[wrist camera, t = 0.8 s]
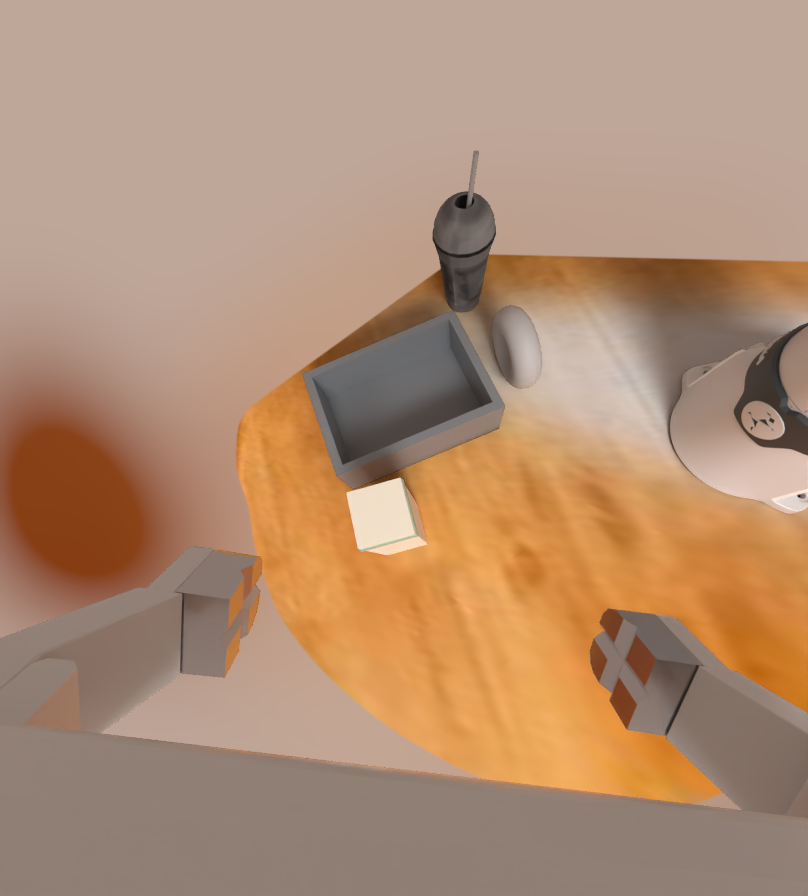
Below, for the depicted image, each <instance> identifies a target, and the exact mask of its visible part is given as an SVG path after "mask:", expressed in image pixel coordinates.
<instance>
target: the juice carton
mask: <svg viewBox="0 0 808 896" xmlns="http://www.w3.org/2000/svg"><path fill="white" fill-rule="evenodd" d="M347 498H348V503H349V508H350V513H351V517H352V522H353V527H354V532H355V537H356V542H357V546H358V549H359V550H360V551H370V552H375V553H379V554H384V555H390V554H394V553H397V552H401V551H404V550H408V549H412V548H415V547H419V546H423V545H426V544H428V543H427V540H426V536H425V532H424V528H423V525H422V521H421V517H420V513H419V510H418V506H417V503H416V501H415V500H414V498H413V497H412V495H411V494H410V492H409V490H408V489H407V487H406V486H405V482H404V480H403V478H402V479H401V478H397V479H393V480H390V481H386V482H383V483H379V484H376V485H372V486H368V487H365V488H361V489H358V490H354V491H351V492H347Z"/></svg>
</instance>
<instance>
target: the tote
mask: <svg viewBox="0 0 808 896" xmlns="http://www.w3.org/2000/svg"><path fill="white" fill-rule="evenodd" d="M302 375H303V378H304V381H305V384H306V387H307V390H308V393H309V396H310V398H311V401H312V404H313V407H314V410H315V413H316V416H317V419H318V422H319V425H320V428H321V431H322V434H323V437H324V440H325V443H326V446H327V449H328V452H329V455H330V458H331V461H332V464H333V467H334V469H335V472H336V475H337V477H338V478H340V479H341V480H342V481H343V482H345V483H346V484H347V485H349V486H350V487H351V488H353V489H355V488H358V487H360V486H362V485H365V484H367V483H370V482H372V481H374V480H377V479H379V478H382V477H384V476H386V475H389V474H391V473H394V472H396V471H398V470H401V469H403V468H406V467H408V466H410V465H413V464H415V463H418V462H420V461H422V460H425V459H427V458H430V457H432V456H434V455H437V454H439V453H441V452H444V451H446V450H449V449H451V448H453V447H456V446H458V445H461V444H463V443H465V442H468V441H470V440H473V439H475V438H477V437H480V436H482V435H485V434H487V433H489V432H492V431H494V430H497V429H499V426H500V423H501V419H502V416H503V412H504V409H505V405H504V403H503V401H502V399H501V397H500V395H499V394H498V392H497V390H496V388H495V386H494V384H493V382H492V381H491V379H490V377H489V375H488V373H487V371H486V369H485V368H484V366H483V364H482V362H481V360H480V358H479V356H478V355H477V353H476V351H475V349H474V347H473V345H472V343H471V342H470V340H469V338H468V336H467V334H466V332H465V330H464V329H463V327H462V325H461V323H460V321H459V319H458V317H457V316H456V314H455V312H454V310H452V311H450V312H447V313H445V314H443V315H440V316H438V317H435V318H433V319H431V320H428V321H426V322H424V323H421V324H419V325H416V326H414V327H412V328H409V329H407V330H405V331H402V332H400V333H397V334H395V335H393V336H390V337H388V338H386V339H383V340H381V341H378V342H376V343H374V344H371V345H369V346H367V347H364V348H362V349H360V350H357V351H355V352H352V353H350V354H348V355H345V356H343V357H341V358H338V359H336V360H333V361H331V362H329V363H326V364H324V365H322V366H319V367H317V368H314V369H312V370H310V371H307V372H305V373H303V374H302Z"/></svg>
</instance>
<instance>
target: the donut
mask: <svg viewBox="0 0 808 896" xmlns="http://www.w3.org/2000/svg"><path fill="white" fill-rule="evenodd" d="M492 339H493V345H494V350H495V354H496V358H497V361H498V364H499V366H500V369H501V371H502V373H503V375H504V377H505V378H506V380H507V381H508V382H509V383H510V384H511V385H512V386H514V387H516V388H520V389H521V388H529V387H531V386H533V385H534V384H535V383H536V381H537V380H538V378H539V376H540V373H541V368H542V353H541V347H540V342H539V338H538V334H537V332H536V329H535V327H534V324H533V323H532V321H531V319H530V317H529V316H528V315H527V313H526V312H525V311H524V310H523V309H521V308H519V307H516V306H511V305H510V306H505V307H503V308H502V309H501V310H500V311H498V312H497V313H496V315H495V317H494V319H493V324H492Z"/></svg>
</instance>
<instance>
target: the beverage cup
mask: <svg viewBox="0 0 808 896" xmlns="http://www.w3.org/2000/svg"><path fill="white" fill-rule="evenodd" d="M478 155H479V151H474V154H473V161H472V168H471V176H470V183H469V191H468V192H460V193H457V194H455V195H453V196H451V197H450V198H448V199H447V200H446V201H445V202H444V204H443V205H442V206H441V207H440V209H439V211H438V213H437V216H436V218H435V222H434V229H433V241H434V244H435V246H436V250H437V252H438V255H439V260H440V265H441V271H442V277H443V282H444V288H445V294H446V297H447V302H448V305H449V307H450V308H451V309H452V310H454V311H456V312H468V311H470V310H472V309H474V308H475V307H476V305H477V304H478V301H479V297H480V294H481V289H482V284H483V279H484V274H485V269H486V264H487V260H488V255H489V251H490V249H491V246H492V243H493V240H494V238H495V235H496V226H495V219H494V215H493V212H492V209H491V208H490V205H489V204H488V202H487V201H486V200H485V199H484V198H483V197H481V196H480V195H478V194H476V193H473V191H474V184H475V176H476V169H477V162H478Z"/></svg>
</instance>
